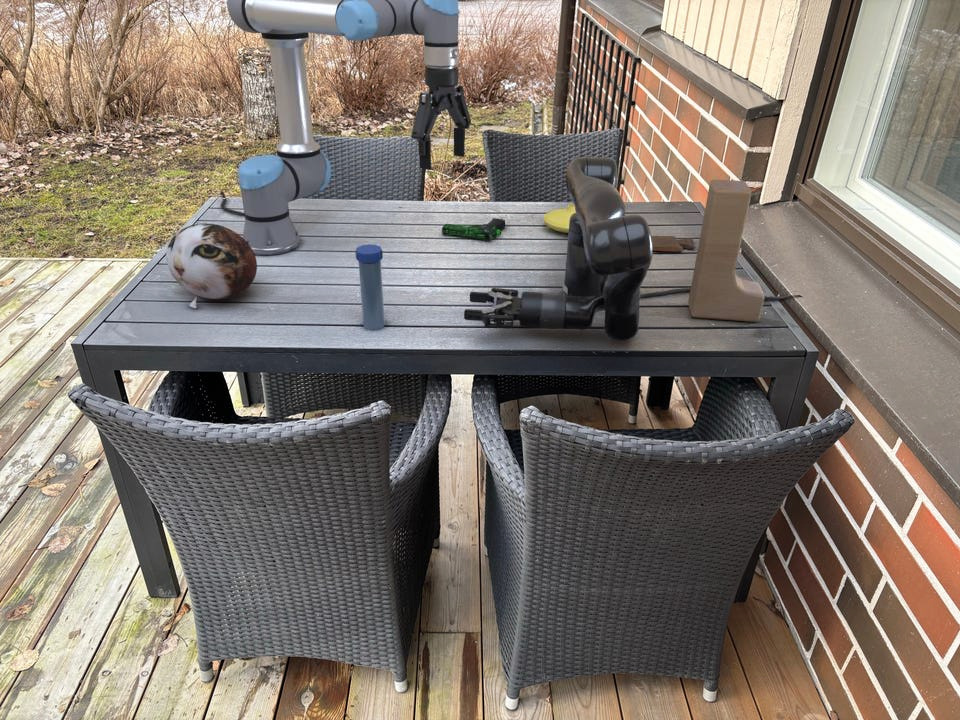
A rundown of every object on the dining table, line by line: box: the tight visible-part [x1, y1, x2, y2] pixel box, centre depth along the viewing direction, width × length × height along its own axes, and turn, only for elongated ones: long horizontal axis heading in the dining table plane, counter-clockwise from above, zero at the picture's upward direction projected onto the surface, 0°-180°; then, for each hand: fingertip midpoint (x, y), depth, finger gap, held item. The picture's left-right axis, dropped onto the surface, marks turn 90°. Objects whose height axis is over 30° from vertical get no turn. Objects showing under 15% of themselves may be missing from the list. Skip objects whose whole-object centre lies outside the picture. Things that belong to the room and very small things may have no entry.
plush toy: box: [165, 222, 258, 309], centre depth 165 cm, size 22×18×20 cm
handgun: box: [441, 217, 506, 242], centre depth 207 cm, size 16×3×15 cm
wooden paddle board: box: [651, 235, 695, 253], centre depth 200 cm, size 26×2×10 cm
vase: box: [543, 203, 575, 234], centre depth 209 cm, size 16×16×7 cm
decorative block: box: [687, 178, 765, 323], centre depth 157 cm, size 8×15×30 cm, turn 82°
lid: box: [355, 243, 384, 263], centre depth 149 cm, size 6×6×2 cm
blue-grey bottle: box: [357, 259, 386, 331], centre depth 153 cm, size 5×5×18 cm
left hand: (442, 162), depth 169 cm, fingers open, 13 cm apart
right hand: (467, 305), depth 152 cm, fingers open, 8 cm apart
